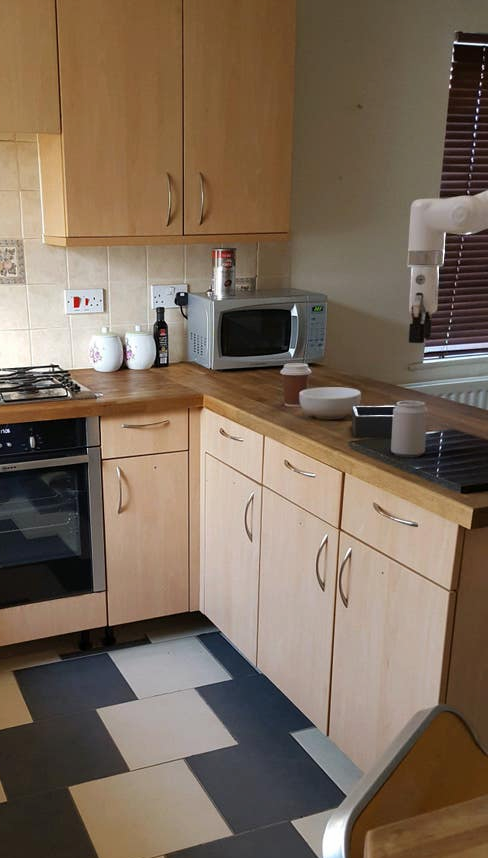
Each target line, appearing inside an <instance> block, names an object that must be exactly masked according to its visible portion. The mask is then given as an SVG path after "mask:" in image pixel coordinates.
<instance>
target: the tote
mask: <svg viewBox="0 0 488 858" xmlns="http://www.w3.org/2000/svg"><path fill="white" fill-rule="evenodd" d="M396 406H397V405H361V406H360V405H359V406H352V413H351V426H350V427H351V431H352V433H353V437H354V438H355V439H392V423H393V409H394V408H395V407H396Z"/></svg>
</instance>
